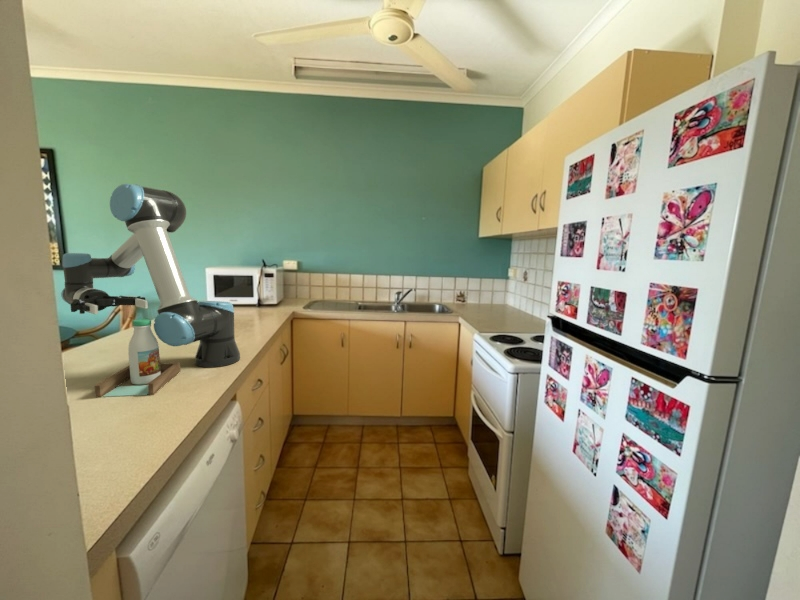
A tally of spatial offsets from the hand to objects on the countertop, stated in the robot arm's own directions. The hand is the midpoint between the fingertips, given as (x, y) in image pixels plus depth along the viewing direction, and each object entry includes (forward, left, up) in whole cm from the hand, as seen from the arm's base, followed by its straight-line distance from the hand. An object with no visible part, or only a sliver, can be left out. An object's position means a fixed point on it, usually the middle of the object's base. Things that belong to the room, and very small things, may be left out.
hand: (122, 307), depth 109 cm
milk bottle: (-8, +7, -23) cm, 25 cm away
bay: (-8, +10, -23) cm, 26 cm away
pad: (-8, +15, -23) cm, 28 cm away
